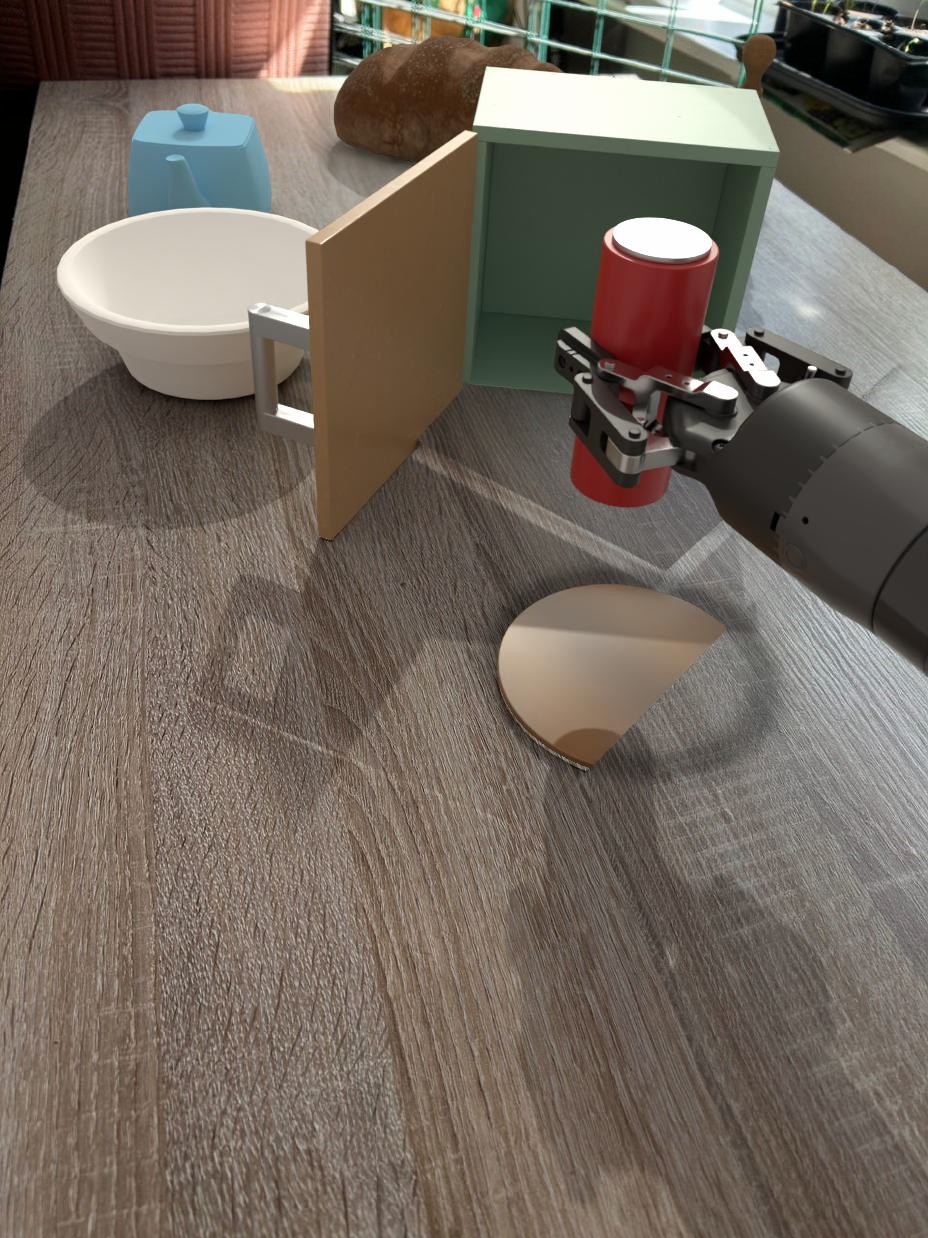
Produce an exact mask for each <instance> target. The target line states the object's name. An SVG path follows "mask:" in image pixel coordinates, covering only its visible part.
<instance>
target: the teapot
mask: <svg viewBox="0 0 928 1238" xmlns="http://www.w3.org/2000/svg"><path fill="white" fill-rule="evenodd" d="M266 155H267V154H266V153H265V148H264V144H263V141H262V138H261V135H260V132H259V129H258V126H257V124H256V121H255V119H254V118H253V117H252V116H250V115H246V114H239V113H230V112H219V111H213V110H211V109H210V108H209V107H207V105H204V104H199V103H185V104H182V105H179V106H178V107H176V109H175V110H174V109H173V110H170V109H167V110H166V109H165V110H164V109H163V110H151V111H148V112H147V113H146V115H145V116H144V117H143V118H142V119H141V121H140V123H139V124H138V125H137V128H136V130H135V131H134V133H133V135H132V138H131V144H130V152H129V160H128V171H127V203H128V213H129V218H130V217H134V216H139V215H143V214H148V213H152V212H159V211H167V210H174V209H186V208H233V209H243V210H253V211H259V212H264V213H269V214H271V213H270V212H271V207H272V196H273V195H272V193H273V192H272V182H271V174H270V170H269V164H268V159H267V156H266Z"/></svg>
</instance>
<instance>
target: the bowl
mask: <svg viewBox="0 0 928 1238" xmlns="http://www.w3.org/2000/svg"><path fill="white" fill-rule="evenodd" d="M319 231H320V230H318V229H317V228H314V227H313V226H310V225H308V224H305V223H303V222H301V221H299V220H295V219H292V218H288V217H286V216H283V215H282V216H281V215H279V214H275V213H264V212H259V211H253V210H243V209H233V208H186V209H174V210H167V211H159V212H152V213H148V214H143V215H139V216H134V217H130V216H129V217H126V218H124V219H120V220H118V221H114V222H111V223H108V224H106V225H104V226H102V227H99V228H97V229H95V230H92V231H91V232H88V233H87V234H86V235H84V236H83V237H81V238H79V239H78V240H77V241H75V242H74V243H73V244H71V246H70V247H69V248H68V249H67V250H66V251H65V253H63V255H62V256H61V259H60V260H59V263H58V265H57V268H56V284H57V286H58V289H59V290H60V293H61V294H62V296H63V298H65V300H66V301H67V303H68V304H69V305H70V307H71V308H72V309H73V311H74V312H75V313H76V315H77V316H78V318H79V319H80V320H81V321H82V323H83V324H84V325H85V326H86V328H87V329H88V331H89V332H91V333H92V334H93V335H94V336H95V337H96V338H97V339H98V340H99V341H101V342H102V343H104V344H106V345H107V346H109V347H111V348H112V349H115V350H116V351H118V354H119V356H120V357H121V359H122V360H123V363H124V365H125V366H126V369H127V370H128V372H129V374H130V375H131V376H132V377H133V378H134V379H136V381H137V382H138V383H140V384H142V385H143V386H145V387H146V388H148V389H150V390H153V391H155V392H159V393H161V394H163V395H167V396H172V397H176V398H181V399H191V400H205V401H206V400H207V401H208V400H211V401H212V400H213V401H214V400H217V401H218V400H226V399H236V398H241V397H245V396H251V395H255V390H254V378H253V367H252V355H251V344H250V332H249V321H248V307H249V306H250V305H252V304H256V303H264V304H268V305H271V306H275V307H278V308H282V309H285V310H289V311H293V312H296V313H300V314H303V315H307V316H309V313H308V291H307V269H306V247H305V241H306V240H307V239H308V238H310V237H311V236H313V235H314V234H316V233H317V232H319ZM274 345H275V360H276V374H277V385H279V384H281V383H282V382H284V381H285V380H287V379H288V378H290V377H291V376H292V374H293V373H294V371H295V370H297V368H298V367H299V366H300V364H301V362H302V359H303V357H304V354H305V351H306V350H304V349H301V348H298V347H294V346H291V345H287V344H284V343H281V342H277V341H274Z"/></svg>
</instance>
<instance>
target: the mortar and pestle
mask: <svg viewBox="0 0 928 1238" xmlns="http://www.w3.org/2000/svg"><path fill="white" fill-rule="evenodd" d="M776 55H777V44H776V42H775V39H774V38H772V37H771V36H770V35H767V34H764V33H756V34H753V35H751V36H750V37H749V38H748V39H747V40H746V42H745V43H744V45H743V47H742V51H741V59H742V63H743V66H744V70H745V80H744V81H743V84H740V85H738V88H739V89H750V90H756V91H757V94H758V96H759V99H760V100H761V98H762V95H763V93H764V89H763V87H762V78H763V75H764V74H765V73H766V71H767V70H768V69H769V67H770V66H771V64H773V62H774V60H775V58H776Z"/></svg>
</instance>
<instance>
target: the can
mask: <svg viewBox="0 0 928 1238" xmlns="http://www.w3.org/2000/svg"><path fill="white" fill-rule="evenodd" d="M718 257H719V248H718V246H717V244H716V243H715V242H714V241H713V240H712V239H711V238H710V237H709V236H708V235H707V234H706V233H705V232H703V231H702V230H700V229H698V228H696V227H694V226H692V225H689V224H686V223H683V222H679V221H675V220H669V219H661V218H639V219H632V220H628V221H625V222H622V223H620V224H619V225H617V226H615V227H613V228H611V229H610V230H608V231H607V232H606V234H605V235H604V237H603V243H602V250H601V257H600V264H599V271H598V278H597V285H596V292H595V299H594V306H593V313H592V320H591V327H590V335H589V337H590V338H591V339H592V340H594V341H595V342H596V343H598V344H599V345H600V346H602V347H603V348H605V349H606V350H607V351H609V352H610V353H611V354H613V355H614V356H615V360H618V361H621V362H623V363H626V364H628V365H631V366H634V367H636V368H639V369H642V370H644V371H648V370H649V369H651V368H652V367H653V366H661V367H664V368H667V369H669V370H672V371H675V372H677V373H680V374H683V375H685V376H688V377H691V378H692V376H693V371H694V366H695V362H696V357H697V353H698V348H699V344H700V339H701V335H702V330H703V325H704V321H705V316H706V312H707V307H708V303H709V298H710V293H711V289H712V284H713V280H714V275H715V271H716V266H717V261H718ZM667 397H668V394H666V393H663V392H661V395H660V400H659V405H658V410H657V420H658V422H659V423H660V424H661V425H662V418H663V413H664V409H665V404H666V399H667ZM618 399H619V400H621V401H624V402H626V403H629V404H631V405H634V401H635V393H634V392H633V390H631V389H629V388H626V387H624V386H620V392H619V398H618ZM573 440H574V441H573V446H572V447H573V448H572V454H571V462H570V469H569V477H570V480H571V483H572V485H573V486H574V488H575V489H576V490H577V491H578V492H579V493H581V494H582V495H583V496H584V497H586V498H588V499H590V500H592V501H594V502H596V503H599V504H602V505H606V506H609V507H615V508H623V509H625V508H627V509H628V508H629V509H630V508H641V507H646V506H648V505H652V504H653V503H656V502H657V501H659V500H661V499H662V498H663V497H664V496H665V494H666V493H667V491H668V489H669V484H670V480H671V477H672V476H671V475H672V471H673V469H672V468H671V467H670V466H666V467H660V468H654V469H648V470H643V471H641V476H640V481H639V484H638V485H637V486H636V487H633V488H623V487H620V486H618V485H616V484H615V483H614V482H613V481H612V480H611V478H610V477H609V476H608V475H607V473H606V472H605V471H604V469H603V468H602V467H601V466H600V464H599V463H598V462H597V461H596V459H595V458H594V457H593V456H592V454H591V453H590V452H589V450H588V449H587V448H586V447H585V445H584V444H583V443H582V442H581V440H580V439H579V438H578V437H577V435H576V434H575V433H574V439H573Z"/></svg>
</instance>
